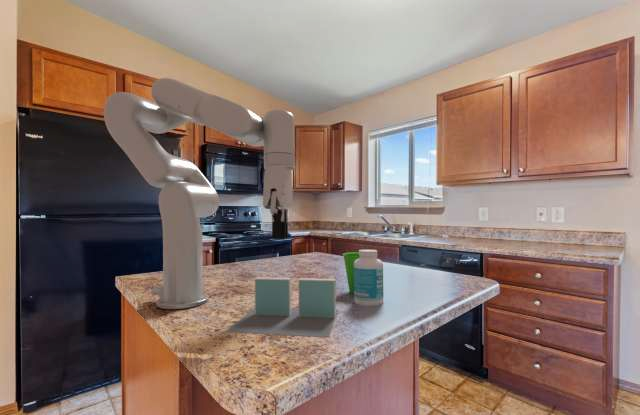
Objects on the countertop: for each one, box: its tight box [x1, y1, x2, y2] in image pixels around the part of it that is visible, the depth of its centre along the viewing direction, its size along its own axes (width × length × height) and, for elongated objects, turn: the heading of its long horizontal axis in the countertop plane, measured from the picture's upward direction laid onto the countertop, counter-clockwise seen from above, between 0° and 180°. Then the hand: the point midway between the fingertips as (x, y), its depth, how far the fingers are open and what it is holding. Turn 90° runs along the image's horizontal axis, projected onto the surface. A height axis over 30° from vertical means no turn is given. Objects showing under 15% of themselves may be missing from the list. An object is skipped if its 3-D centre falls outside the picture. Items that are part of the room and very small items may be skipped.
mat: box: [225, 307, 339, 338], centre depth 66 cm, size 20×16×1 cm
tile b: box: [297, 277, 337, 319], centre depth 68 cm, size 8×2×8 cm, turn 81°
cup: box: [342, 251, 360, 295], centre depth 90 cm, size 9×9×11 cm
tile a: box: [254, 276, 292, 316], centre depth 69 cm, size 8×2×8 cm, turn 81°
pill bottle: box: [353, 249, 384, 307], centre depth 79 cm, size 8×7×14 cm
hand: (280, 238), depth 76 cm, fingers closed
